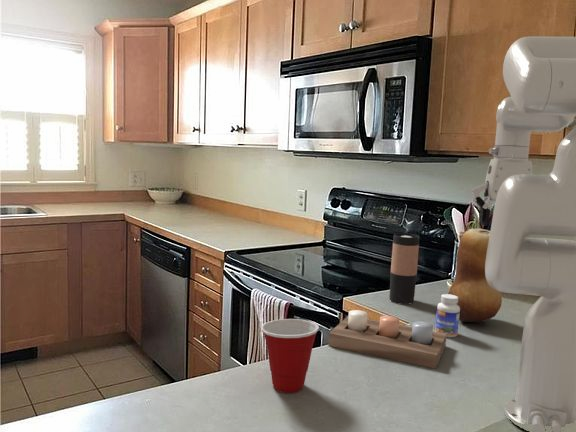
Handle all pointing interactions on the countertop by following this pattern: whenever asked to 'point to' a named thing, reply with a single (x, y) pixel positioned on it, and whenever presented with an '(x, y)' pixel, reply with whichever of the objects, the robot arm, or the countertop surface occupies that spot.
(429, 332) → the slate button
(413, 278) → the travel mug
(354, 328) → the cream button
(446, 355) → the countertop surface
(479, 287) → the butternut squash
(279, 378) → the plastic cup
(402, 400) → the countertop surface
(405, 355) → the walnut panel
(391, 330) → the terracotta button
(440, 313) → the pill bottle
